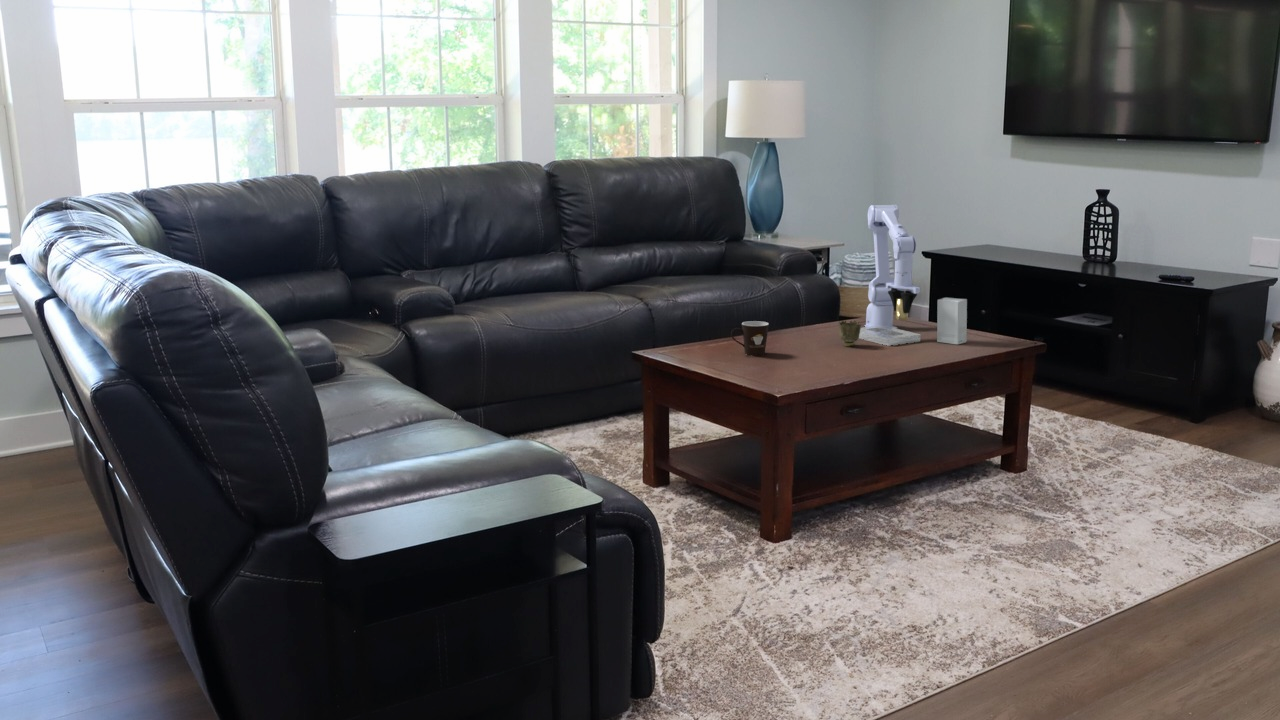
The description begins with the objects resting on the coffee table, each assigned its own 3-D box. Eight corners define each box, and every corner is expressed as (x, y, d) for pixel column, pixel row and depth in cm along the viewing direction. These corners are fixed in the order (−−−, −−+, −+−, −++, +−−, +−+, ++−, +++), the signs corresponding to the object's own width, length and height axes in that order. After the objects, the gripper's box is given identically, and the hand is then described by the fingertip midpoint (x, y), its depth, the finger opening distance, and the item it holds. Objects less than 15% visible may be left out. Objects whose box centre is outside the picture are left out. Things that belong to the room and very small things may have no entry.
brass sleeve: (893, 318, 374) (894, 298, 372) (901, 317, 376) (902, 297, 374) (901, 320, 370) (902, 299, 369) (910, 319, 372) (911, 298, 371)
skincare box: (966, 342, 368) (969, 299, 365) (957, 345, 364) (959, 301, 361) (944, 339, 374) (946, 296, 371) (935, 341, 370) (937, 298, 366)
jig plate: (849, 336, 381) (850, 328, 380) (880, 331, 387) (881, 325, 387) (888, 346, 364) (889, 338, 363) (920, 341, 370) (920, 334, 370)
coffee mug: (770, 351, 356) (770, 321, 354) (765, 357, 348) (766, 326, 346) (735, 350, 360) (735, 320, 357) (729, 355, 351) (730, 325, 349)
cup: (859, 343, 368) (860, 320, 366) (861, 348, 360) (862, 324, 359) (836, 343, 368) (837, 320, 367) (838, 348, 361) (839, 324, 359)
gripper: (927, 273, 365) (925, 313, 368) (897, 269, 378) (895, 307, 381) (911, 275, 362) (909, 315, 365) (881, 270, 374) (880, 309, 377)
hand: (901, 311), depth 372 cm, fingers closed on brass sleeve, 4 cm apart
